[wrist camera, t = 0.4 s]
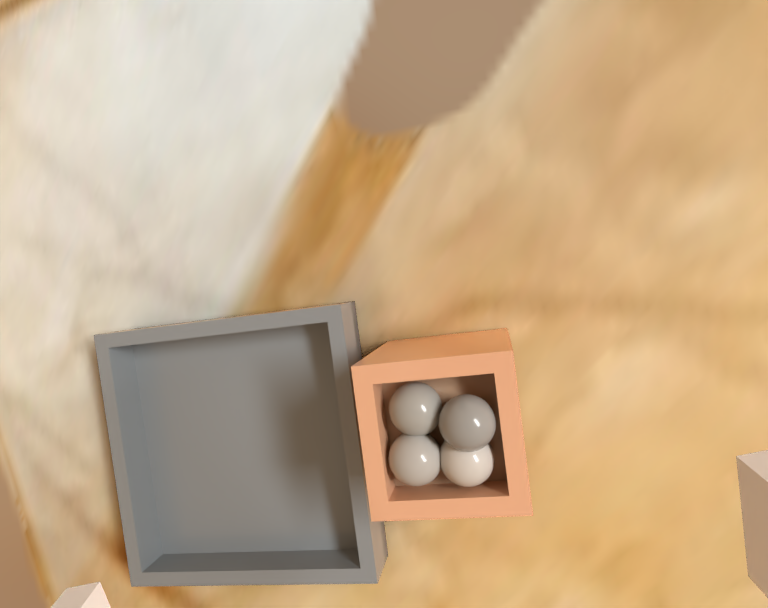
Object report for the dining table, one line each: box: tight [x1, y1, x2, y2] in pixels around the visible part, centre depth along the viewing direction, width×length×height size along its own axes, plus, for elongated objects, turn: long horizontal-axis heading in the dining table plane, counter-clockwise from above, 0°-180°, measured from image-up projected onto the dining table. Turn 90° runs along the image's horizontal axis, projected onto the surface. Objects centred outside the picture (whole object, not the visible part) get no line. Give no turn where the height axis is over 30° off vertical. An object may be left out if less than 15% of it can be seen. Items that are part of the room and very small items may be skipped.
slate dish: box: [94, 301, 388, 587], centre depth 37 cm, size 18×18×4 cm
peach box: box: [351, 328, 533, 522], centre depth 31 cm, size 8×8×11 cm
